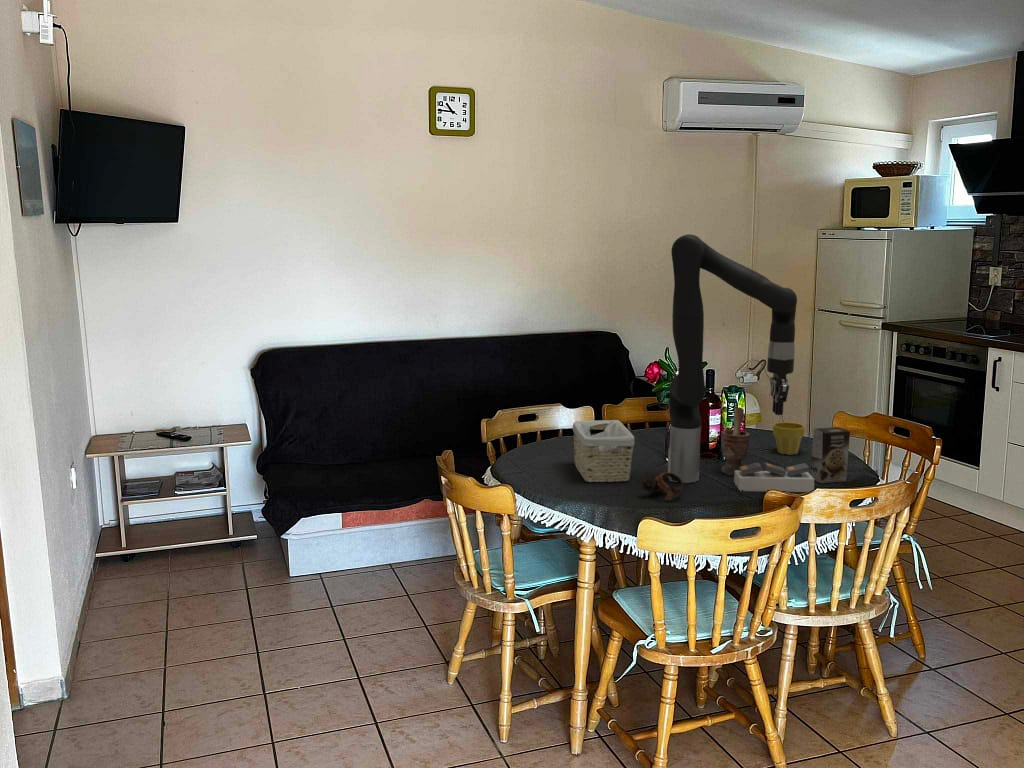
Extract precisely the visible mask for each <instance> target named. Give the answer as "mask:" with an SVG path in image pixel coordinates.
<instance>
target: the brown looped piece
mask: <svg viewBox="0 0 1024 768" xmlns="http://www.w3.org/2000/svg"><path fill="white" fill-rule="evenodd" d="M668 476H669V477H671V478H672V480H673V481H678V482H677V484H678V485H679V486H677V487H672V490H671V489H670V486H669V485H668V484H667V483H666V482H665V480H666V479H667V478H668ZM673 481H672V482H673ZM647 484H649V485H647ZM640 485H641V487H642V489H643V490H644V491H646V492H647V493H648V495H650V496H652V495H653V492H655V491H658V492H662V491H664V492H665V493H666V496H665V497H664V501H667V502H671V501H672V499H675V498H677V497H679V496H681V494H682V492H683V485H684V483H683V482H682V480H681V479H680V478H679V477H678V476H677V475H675V474H673V473H669V472H668V471H665V472H661V473H660V474H659V475H657V476H655V477H654V478H652V477H649V476H647V477H644V478H643V479H642V480H641V483H640Z"/></svg>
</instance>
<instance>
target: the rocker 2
mask: <svg viewBox="0 0 1024 768" xmlns="http://www.w3.org/2000/svg"><path fill="white" fill-rule="evenodd" d="M761 466H762V469H764V471H768V472H772V473H776V474H779V475H783V476H785V474H786V469H785V468H784V467H782V466H778V465H774V464H772V463H768V462H763V463H762V465H761Z"/></svg>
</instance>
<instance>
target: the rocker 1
mask: <svg viewBox="0 0 1024 768" xmlns="http://www.w3.org/2000/svg"><path fill="white" fill-rule="evenodd" d="M762 466H763V465H762V464H760V462H754V463H750V464H746V465H742V466H740V467H739V469H740V472H741V473H742V475H747V474H751V473H755V472H759V471H764V470H763V467H762Z"/></svg>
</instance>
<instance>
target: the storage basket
mask: <svg viewBox="0 0 1024 768" xmlns="http://www.w3.org/2000/svg"><path fill="white" fill-rule="evenodd" d="M591 430H601V432H599V433H596V434H591ZM602 430H603V431H602ZM572 431H573V447H574V449H573V453H574V454H573V455H574V457H573V459H574V465H575V467H576V469H577V471H578V472H579V474H580V475H581V477H582V478H583V480H584V481H585V482H587V483H588V482H589V483H594V482H595V483H600V482H601V483H606V482H608V483H611V482H617V483H618V482H628V481H629V480H630V478H631V477H630V476H631V469H632V461H633V459H632V458H633V453H634V446H635V436H634V434H632V432H631V431H630V430H628V428H627V427H626V426H625V425H624V424H623V423H622V422H621V420H619V419H613V420H611V419H610V420H609V419H606V420H605V419H604V420H576V421H574V422H573V425H572Z"/></svg>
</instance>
